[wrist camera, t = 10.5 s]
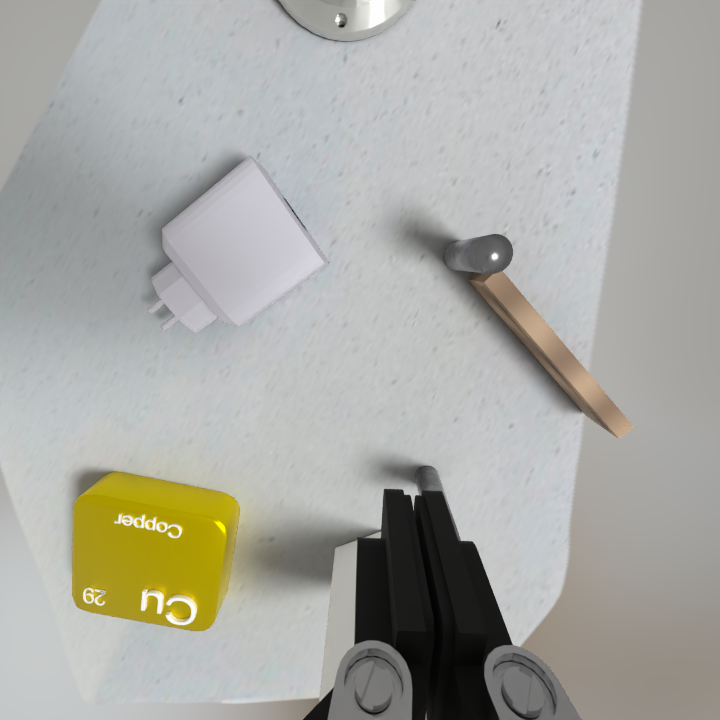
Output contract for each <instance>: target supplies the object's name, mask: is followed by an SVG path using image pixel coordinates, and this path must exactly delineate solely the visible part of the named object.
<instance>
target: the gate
mask: <svg viewBox="0 0 720 720" xmlns="http://www.w3.org/2000/svg"><path fill="white" fill-rule="evenodd" d="M468 281H469V282H470V283H471V284H472V285H473V286H474V287H475V289H476V290H477V291H478V292H479V293H480V294H481V295H482V297H483V298H484V299H485V300H486V301H487V302H488V304H489V305H490V306H491V307H492V308H493V309H494V310H495V312H496V313H497V314H498V315H499V316H500V317H501V318H502V320H503V321H504V322H505V323H506V324H507V325H508V326H509V328H510V329H511V330H512V331H513V332H514V333H515V334H516V336H517V337H518V338H519V339H520V340H521V341H522V342H523V344H524V345H525V346H526V347H527V348H528V349H529V350H530V352H531V353H532V354H533V355H534V356H535V357H536V359H537V360H538V361H539V362H540V363H541V364H542V365H543V367H544V368H545V369H546V370H547V371H548V372H549V373H550V375H551V376H552V377H553V378H554V379H555V380H556V381H557V383H558V384H559V385H560V386H561V387H562V388H563V389H564V391H565V392H566V393H567V394H568V395H569V396H570V397H571V399H572V400H573V401H574V402H575V403H576V404H577V405H578V407H579V408H580V409H581V410H582V411H583V412H584V414H585V415H586V416H587V417H589V418H590V419H591V420H593V421H594V422H596V423H597V424H599V425H600V426H601V427H603V428H604V429H606V430H607V431H609V432H610V433H611V434H613V435H614V436H616V437H617V438H618V439H619V438H621V437H622V436H624V435H625V434H626V433H628V432H629V431H630V430H632V429H633V428H634V427H633V425H632V424H631V423H630V422H629V421H628V419H627V418H626V417H625V416H624V415H623V414H622V412H621V411H620V410H619V409H618V408H617V406H616V405H615V404H614V403H613V402H612V401H611V399H610V398H609V397H608V396H607V395H606V393H605V392H604V391H603V390H602V389H601V387H600V386H599V385H598V384H597V383H596V382H595V380H594V379H593V378H592V377H591V376H590V374H589V373H588V372H587V371H586V370H585V368H584V367H583V366H582V365H581V364H580V363H579V361H578V360H577V359H576V358H575V357H574V355H573V354H572V353H571V352H570V351H569V349H568V348H567V347H566V346H565V345H564V344H563V342H562V341H561V340H560V339H559V338H558V336H557V335H556V334H555V333H554V332H553V330H552V329H551V328H550V327H549V326H548V325H547V323H546V322H545V321H544V320H543V319H542V317H541V316H540V315H539V314H538V313H537V312H536V310H535V309H534V308H533V307H532V306H531V304H530V303H529V302H528V301H527V300H526V298H525V297H524V296H523V295H522V294H521V293H520V291H519V290H518V289H517V288H516V287H515V285H514V284H513V283H512V282H511V281H510V279H509V278H508V277H507V276H506V275H505V274H504V272H503V271H501V272H499V273H496V274H487V273H477V272H475V273H474V274H473V275H471V276H470V277H469V278H468Z"/></svg>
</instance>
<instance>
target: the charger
mask: <svg viewBox="0 0 720 720" xmlns="http://www.w3.org/2000/svg"><path fill="white" fill-rule="evenodd" d="M283 198H285V197H284V196H283V194H282V193H281V191H280V190H279V189H278V187H277V186H276V184H275V183H274V181H273V180H272V179H271V177H270V176H269V174H268V173H267V172H266V170H265V169H264V168H263V167H262V166H261V165H260V164H259V163H258V162H257V161H256V160H255V159H254V158H253V157H252V156H249V157H248V158H247V159H245V160H244V161H243V162H242V163H241V164H239V165H238V166H237V167H236V168H235V169H233V170H232V171H231V172H230V173H228V174H227V175H226V176H225V177H224V178H222V179H221V180H220V181H219V182H218V183H216V184H215V185H214V186H213V187H212V188H210V189H209V190H208V191H207V192H206V193H204V194H203V195H202V196H201V197H200V198H198V199H197V200H196V201H195V202H194V203H192V204H191V205H190V206H189V207H188V208H186V209H185V210H184V211H183V212H181V213H180V214H179V215H178V216H177V217H175V218H174V219H173V220H172V221H171V222H169V223H168V224H167V225H166V226H165V227H163V228H162V248H163V250H164V251H165V253H166V254H167V255H168V257H169V258H170V259H171V260H172V262H170V263H169V264H168V265H167V266H165V267H164V268H163V269H162V270H160V271H159V272H158V273H157V274H156V275H154V276H153V277H152V278H151V282H152V284H153V286H154V288H155V291H156V293H157V295H158V296H159V298H160V299H159V300H158V301H157V302H156V303H154V304H153V305H152V306H151V307H149V308H148V309H147V311H148V313H150V314H153V313H154V312H155V311H156V310H158V309H159V308H160V307H161V306H163V305H164V304H165V305H166V306H167V307H168V308H169V310H170V311H171V312H172V313H173V314H174V316H173V317H171V318H170V319H169V320H167V321H166V322H165V323H164V324H162V325H161V328H162V329H163V330H166V329H168V328H169V327H170V326H172V325H173V324H174V323H176V322H177V321H178V320H179V321H180V322H182V323H183V324H184V325H185V326H187V327H188V328H189V329H190V330H192V331H194V332H196V333H198V332H199V331H200V330H202V329H203V328H204V327H206V326H207V325H208V324H210V323H211V322H212V321H214V320H215V319H216V318H218V319H219V320H220V321H221V322H223V323H227V324H232V325H238V326H241V325H243V324H245V323H247V322H249V321H251V320H252V319H254V318H255V317H256V316H258V315H259V314H260V313H262V312H263V311H265V310H266V309H267V308H269V307H270V306H271V305H273V304H274V303H275V302H277V301H278V300H280V299H281V298H282V297H284V296H285V295H286V294H288V293H289V292H291V291H292V290H293V289H295V288H296V287H297V286H299V285H300V284H301V283H303V282H304V281H306V280H307V279H308V278H310V277H311V276H312V275H314V274H315V273H316V272H318V271H319V270H321V269H322V268H323V267H325V266H326V265H327V264H329V262H328V260H327V258H326V257H325V255H324V254H323V252H322V251H321V249H320V248H319V246H318V245H317V244H316V242H315V241H314V239H313V238H312V236H311V235H310V233H309V232H308V231H306V230H307V229H306V230H305V229H304V228H303V226H302V225H301V223H300V222H299V220H300V219H299V220H298V219H297V218H296V216H295V215H294V213H293V212H292V210H291V209H290V207H291V206H290V207H289V206H288V205H287V203H286V202H285V200H284V199H283ZM286 201H287V200H286ZM288 204H289V203H288ZM291 208H292V207H291ZM293 211H294V210H293ZM295 214H296V213H295ZM297 217H298V216H297ZM300 221H301V220H300ZM302 224H303V223H302ZM304 227H305V226H304Z"/></svg>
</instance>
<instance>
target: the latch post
mask: <svg viewBox="0 0 720 720" xmlns="http://www.w3.org/2000/svg"><path fill="white" fill-rule="evenodd" d="M415 479H416V484H417V488H418V493H419V495H422V491H423V490H429V491H442V492H443V494H444V497H445V500H446V504H447V507H448V510H449V513H450V516H451V519H452V522H453V525H454V529H455V532H456V535H457V538H458V541H461V540H460V536H459V533H458V531H457V528H456V525H455V522H454V519H453V516H452V513H451V510H450V507H449V504H448V501H447V498H446V495H445V493H444V490H443V487H442V484H441V481H440V478H439V475H438V472H437V470H436V469H435V468H433V467H430V466H424V467H421V468H419V469H418V470H417V472H416V474H415Z"/></svg>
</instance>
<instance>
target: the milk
mask: <svg viewBox="0 0 720 720" xmlns="http://www.w3.org/2000/svg"><path fill="white" fill-rule="evenodd" d="M364 538H381V532H378V533H375V534H372V535H369V536H367V537H364ZM356 560H357V540H355V541H353V542H350V543H347V544H344V545H342V546H339V547H336V548H335V554H334V564H333V574H332V583H331V593H330V603H329V612H328V622H327V631H326V641H325V651H324V660H323V670H322V680H321V689H320V699H319V702H320V701H321V700H322V699H323V698H324V697H325V696H326V695H327V694H328V693H329V692H330V691H331V689H332V688H333V687H334V684H335V679H336V674H337V670H338V667H339V665H340V662H341V660H342V658H343V657H344V655H345V654H346V653H347V651H348V650H349V649H351V648H352V647H353V646H354V635H355V593H356Z"/></svg>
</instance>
